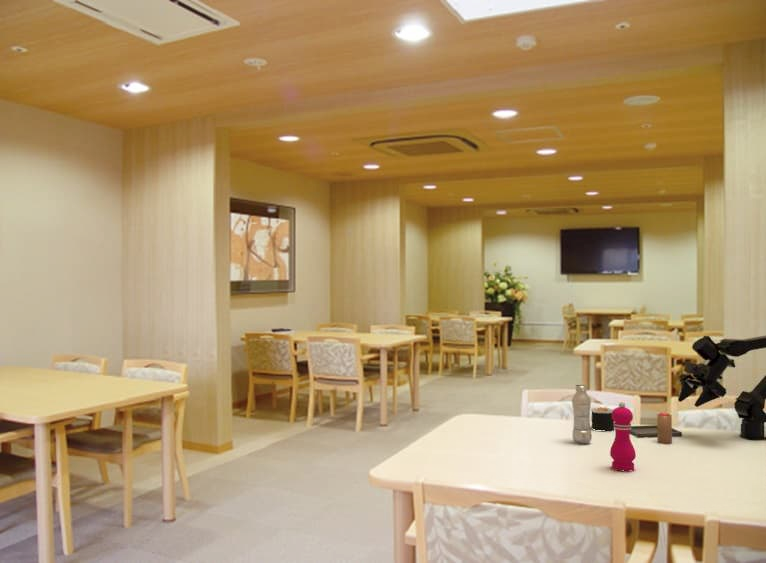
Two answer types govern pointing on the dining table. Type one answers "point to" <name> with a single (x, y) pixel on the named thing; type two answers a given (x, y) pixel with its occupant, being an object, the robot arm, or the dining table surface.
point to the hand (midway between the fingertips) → (687, 403)
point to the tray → (649, 431)
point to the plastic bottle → (581, 415)
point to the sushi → (602, 419)
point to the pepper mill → (622, 439)
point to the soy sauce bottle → (664, 428)
